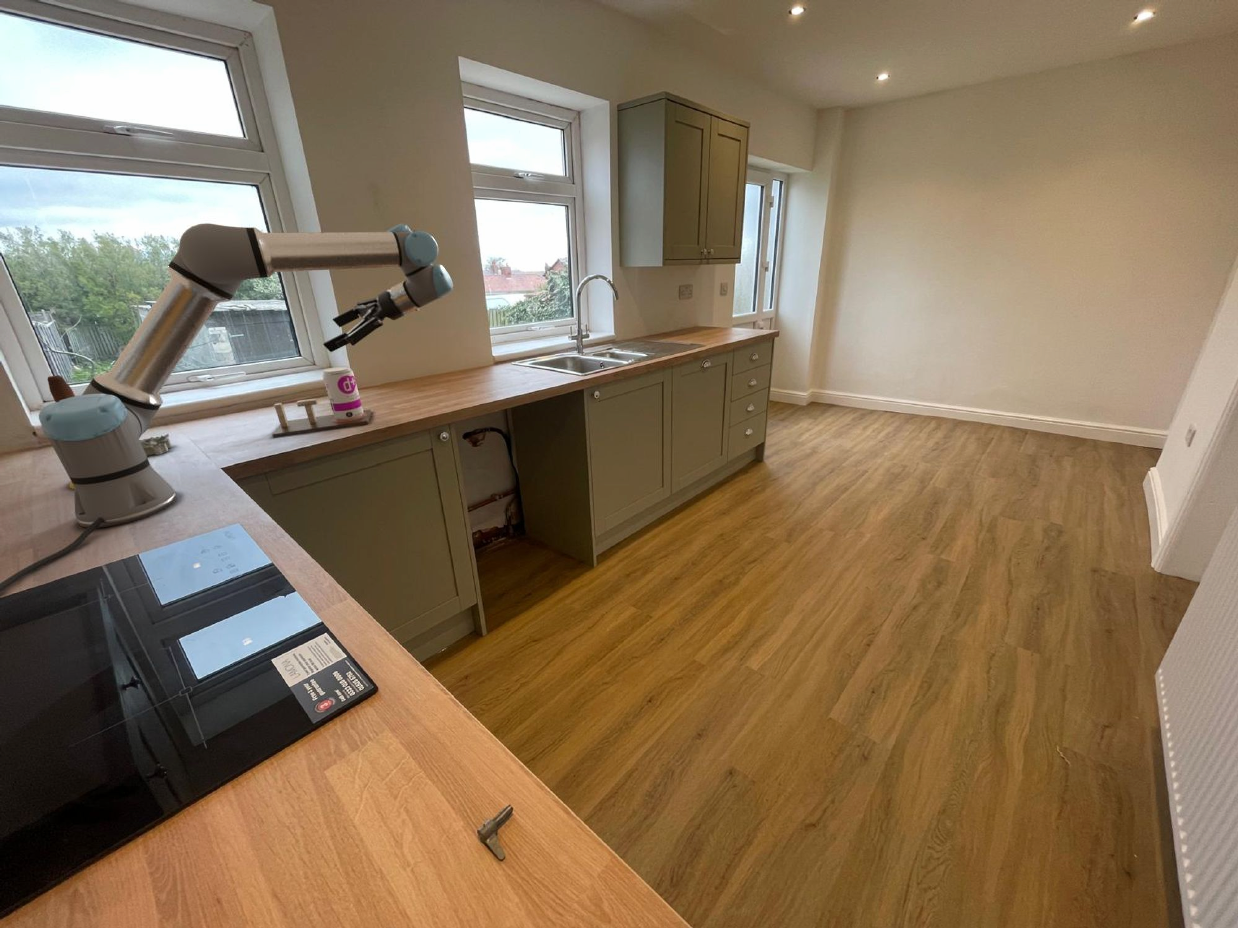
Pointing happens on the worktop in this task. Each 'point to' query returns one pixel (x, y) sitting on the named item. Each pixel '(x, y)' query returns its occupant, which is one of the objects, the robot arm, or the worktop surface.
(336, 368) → the supplement can
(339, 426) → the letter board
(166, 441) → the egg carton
